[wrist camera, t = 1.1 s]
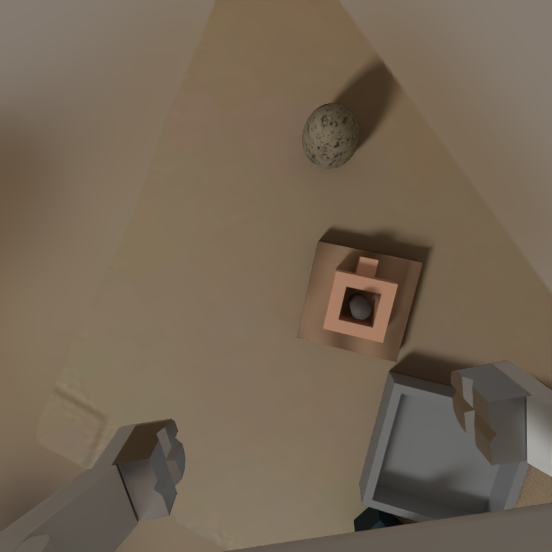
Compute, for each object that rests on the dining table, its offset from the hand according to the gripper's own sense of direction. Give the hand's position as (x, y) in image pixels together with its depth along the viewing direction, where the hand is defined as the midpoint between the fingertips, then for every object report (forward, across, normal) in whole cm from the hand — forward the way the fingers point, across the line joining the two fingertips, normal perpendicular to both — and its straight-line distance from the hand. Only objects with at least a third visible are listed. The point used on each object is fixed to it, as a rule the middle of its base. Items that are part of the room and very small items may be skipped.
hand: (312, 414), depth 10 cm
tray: (+27, +14, -28) cm, 41 cm away
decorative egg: (+34, +7, +10) cm, 36 cm away
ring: (+29, +7, -8) cm, 31 cm away
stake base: (+31, +7, -8) cm, 33 cm away
